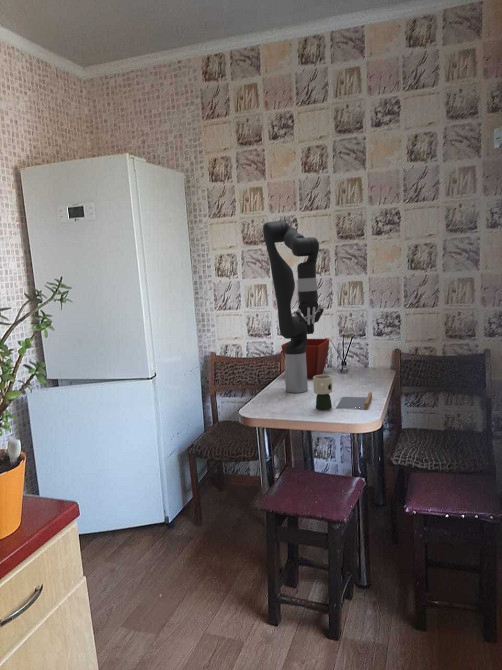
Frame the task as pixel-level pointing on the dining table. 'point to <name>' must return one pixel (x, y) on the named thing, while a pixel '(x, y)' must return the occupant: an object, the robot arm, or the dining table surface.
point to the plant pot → (314, 355)
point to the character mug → (323, 391)
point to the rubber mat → (355, 402)
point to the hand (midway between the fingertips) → (310, 333)
